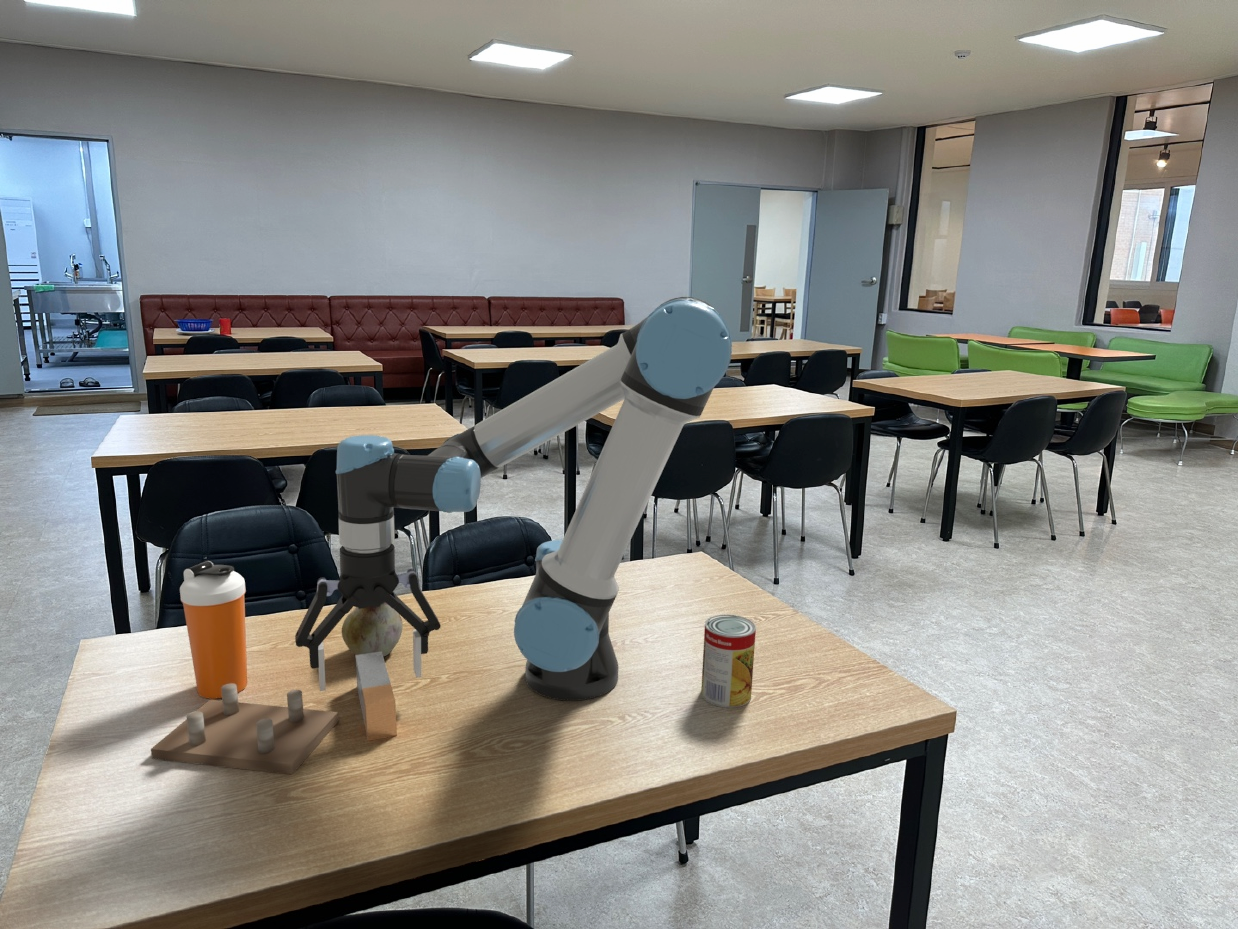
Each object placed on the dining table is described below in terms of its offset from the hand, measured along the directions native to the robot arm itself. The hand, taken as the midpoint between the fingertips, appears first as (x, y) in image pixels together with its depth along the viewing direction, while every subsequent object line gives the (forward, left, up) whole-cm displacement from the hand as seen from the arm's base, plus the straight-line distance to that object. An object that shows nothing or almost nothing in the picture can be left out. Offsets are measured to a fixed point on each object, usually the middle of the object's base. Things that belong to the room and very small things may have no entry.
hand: (370, 679), depth 123 cm
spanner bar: (-1, 0, -5) cm, 5 cm away
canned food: (-53, -14, -5) cm, 55 cm away
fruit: (+7, -17, -5) cm, 19 cm away
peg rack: (+13, +10, -5) cm, 18 cm away
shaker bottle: (+25, -2, -5) cm, 26 cm away
